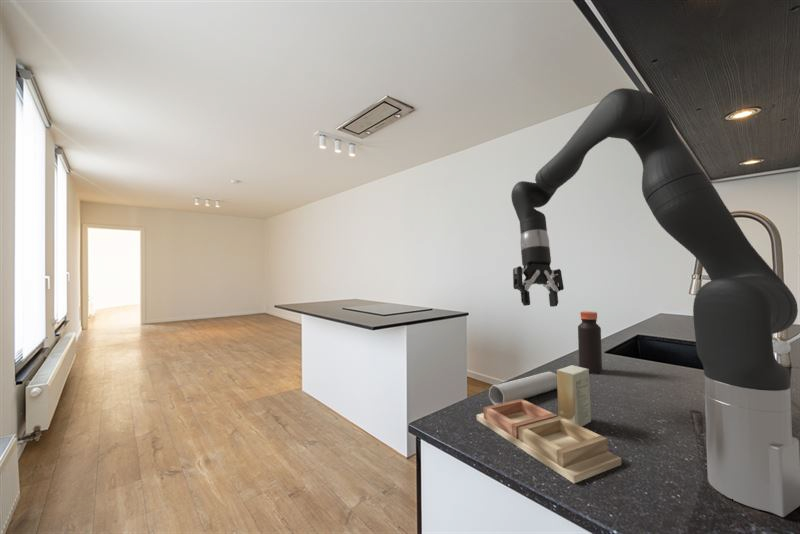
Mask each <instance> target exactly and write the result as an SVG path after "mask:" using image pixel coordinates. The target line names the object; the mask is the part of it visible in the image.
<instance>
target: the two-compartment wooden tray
mask: <svg viewBox="0 0 800 534" xmlns="http://www.w3.org/2000/svg"><path fill="white" fill-rule="evenodd" d="M476 421H478V422H479V423H481V424H482V425H483V426H485V427H487V428H489V429H490V430H492V431H493V432H495V433H496V434H497V435H499V436H501V437H502V438H503V439H505V440H507V441H508V442H510V443H511V444H512V445H515V446H516V447H517V448H519V449H521V450H522V451H523V452H525V453H527V454H528V455H530V456H532V458H535V460H537V461H539V462H540V463H542V464H544V465H545V466H547V468H550V469H551V470H552V471H554V472H556V473H557V474H559V475H560V476H561V477H563V478H565V479H567V480H568V481H569V482H571V483H573V484H576V483H579V482H582V481H584V480H586V479H590V478H591V477H594V476H597V475H599V474H601V473H605V472H606V471H610V470H612V469H614V468H617V467H619V466H621V465H622V458H621V457H620V456H618V455H616V454H614V453H612V452H610V451H608V438H607V437H606V436H603V435H600V434H598V433H596V432H594V431H592V430H590V429H588V428H585V427H583V426H582V427H581V426H579V425H577V424H575V423H573V422H571V421H568V420H566V419H564V418H562V417H560V416H559V415H557V414H555V413H554V412H551V411H548V410H547V409H544V408H542V407H540V406H538V405H536V404H534V403H532V402H530V401H528V400H525V399H518V400H513V401H509V402H505V403H500V404H496V405H494V404H492V405H486V406H483V412H481V413H478V414H476Z"/></svg>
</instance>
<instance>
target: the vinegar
mask: <svg viewBox="0 0 800 534" xmlns="http://www.w3.org/2000/svg"><path fill="white" fill-rule="evenodd" d="M580 321H581V322H580V324H579V325H578V326H577V338H578V340H577V342H578V343H577V344H578V367H582V368H586V369H589V374H592V373H598V374H601V373H602V372H603V362H602V361H603V357H602V356H603V355H602V351H603V350H602V332H601V331H602V328H601V327H600V325H599V324H598V323H597V321H598V313H597V312H596V311H581V312H580ZM600 372H601V373H600Z"/></svg>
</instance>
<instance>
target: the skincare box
mask: <svg viewBox="0 0 800 534" xmlns="http://www.w3.org/2000/svg"><path fill="white" fill-rule="evenodd" d="M556 374H557V388H556V390H557V405H558V406H557V407H558V411H557V413H558V417H559V416H560V417H562V418H564V419H566V420H568V421H571V422H573V423H575V424H577V425H579V426H581V427H583V426H586V425H588V424H589V423H591V422H592V416H591V415H592V414H591V412H592V411H591V396H590V395H591V392H590V391H591V390H590V387H591V386H590V373H589V369H586V368H582V367H579V365H578V366H577V365H572V364H571V365H567V366H565V367H562V368H558V369H556Z"/></svg>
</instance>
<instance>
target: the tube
mask: <svg viewBox="0 0 800 534" xmlns="http://www.w3.org/2000/svg"><path fill="white" fill-rule="evenodd" d="M554 389H555V390H557V373H555V372H552V371H546V372H541V373H537V374H534V375H531V376H527V377H523V378H519V379H514V380H511V381H507V382H503V383H499V384H492V385H491V387H490V388H489V390H488V398H489V399H490V401H491V403H492V405H496V404H500V403H505V402H509V401H513V400H518V399H523V400H525V399H528V398H531V397H535V396H538V394H539V395H541V393H542V394H544V393H548V392H551V390H552V391H554Z"/></svg>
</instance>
